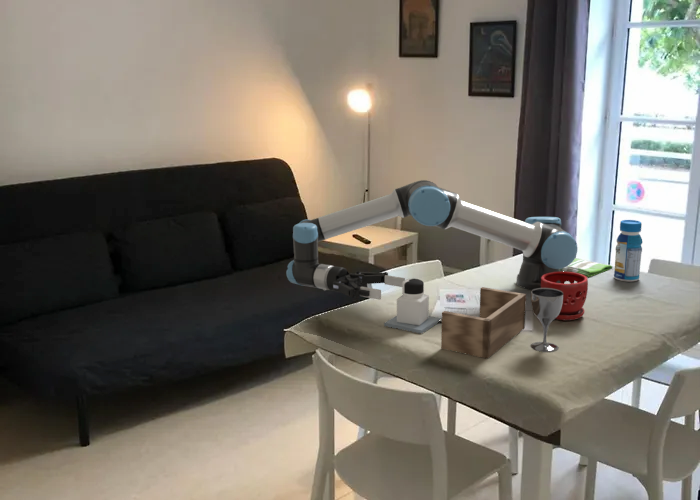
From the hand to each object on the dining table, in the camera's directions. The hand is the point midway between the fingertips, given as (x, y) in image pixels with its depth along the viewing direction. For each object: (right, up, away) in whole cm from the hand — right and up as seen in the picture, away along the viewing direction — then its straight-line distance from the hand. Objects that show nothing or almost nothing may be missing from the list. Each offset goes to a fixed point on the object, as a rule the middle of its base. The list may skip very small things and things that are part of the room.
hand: (392, 288), depth 214 cm
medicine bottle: (+6, -9, -1) cm, 11 cm away
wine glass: (+39, -14, -20) cm, 46 cm away
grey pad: (+6, -10, -1) cm, 12 cm away
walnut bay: (+24, -13, -13) cm, 30 cm away
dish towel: (+68, +4, +55) cm, 88 cm away
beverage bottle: (+82, +1, +39) cm, 91 cm away
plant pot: (+50, -8, +4) cm, 51 cm away
